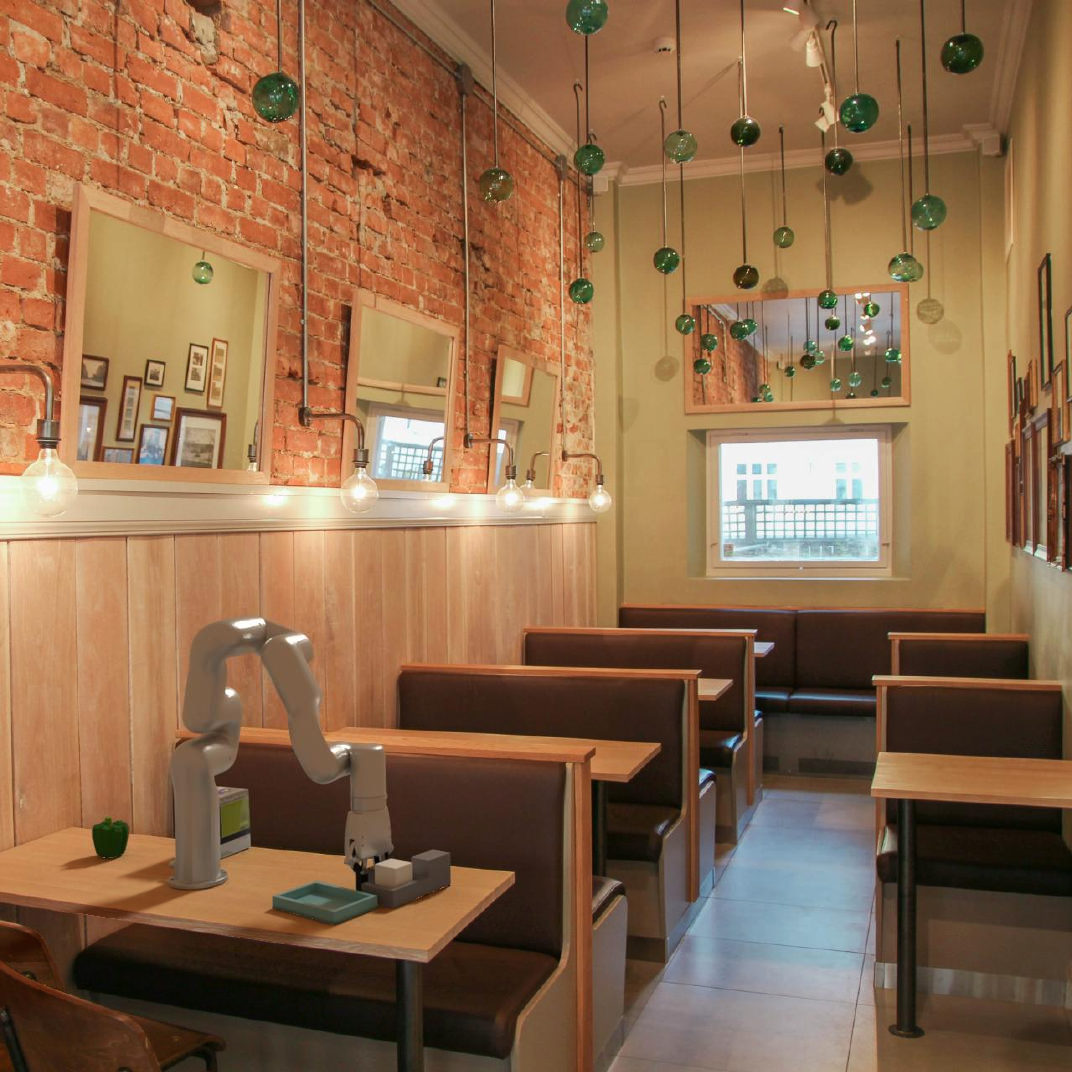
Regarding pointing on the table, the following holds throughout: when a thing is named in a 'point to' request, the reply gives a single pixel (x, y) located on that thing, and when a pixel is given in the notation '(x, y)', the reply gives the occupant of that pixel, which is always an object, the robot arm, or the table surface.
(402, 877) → the t-handle cube
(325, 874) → the table surface
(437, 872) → the bay
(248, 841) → the tea box
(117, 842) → the bell pepper
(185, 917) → the table surface
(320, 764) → the robot arm
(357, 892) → the tray
